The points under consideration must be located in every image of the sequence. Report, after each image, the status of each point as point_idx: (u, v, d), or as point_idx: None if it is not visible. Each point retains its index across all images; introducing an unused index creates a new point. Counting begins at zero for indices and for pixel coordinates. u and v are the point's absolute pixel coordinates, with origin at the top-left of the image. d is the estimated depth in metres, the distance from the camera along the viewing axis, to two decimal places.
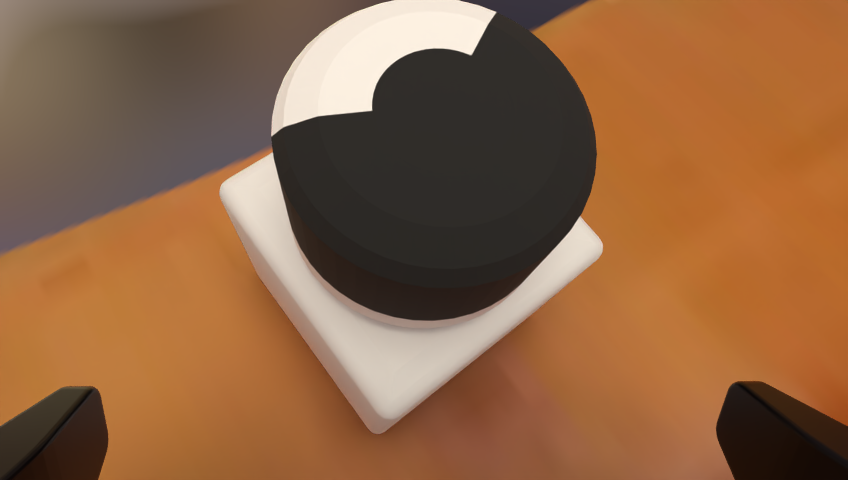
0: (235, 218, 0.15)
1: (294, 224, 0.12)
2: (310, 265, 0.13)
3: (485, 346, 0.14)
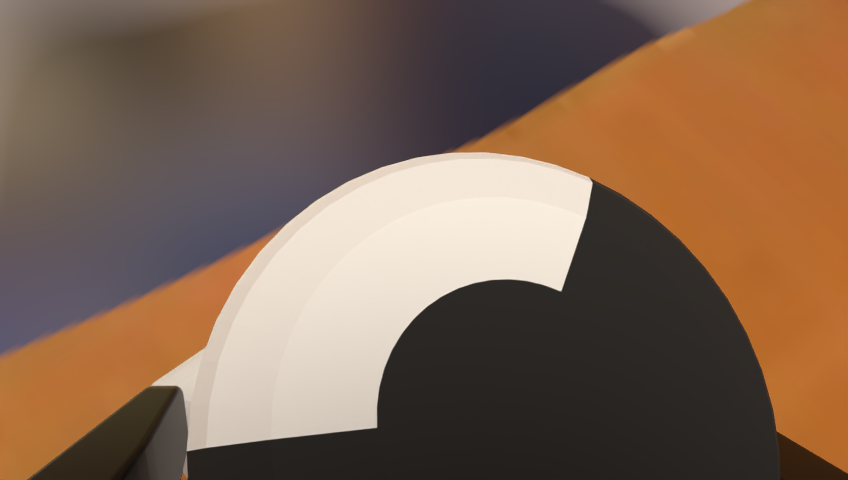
0: None
1: None
2: None
3: None
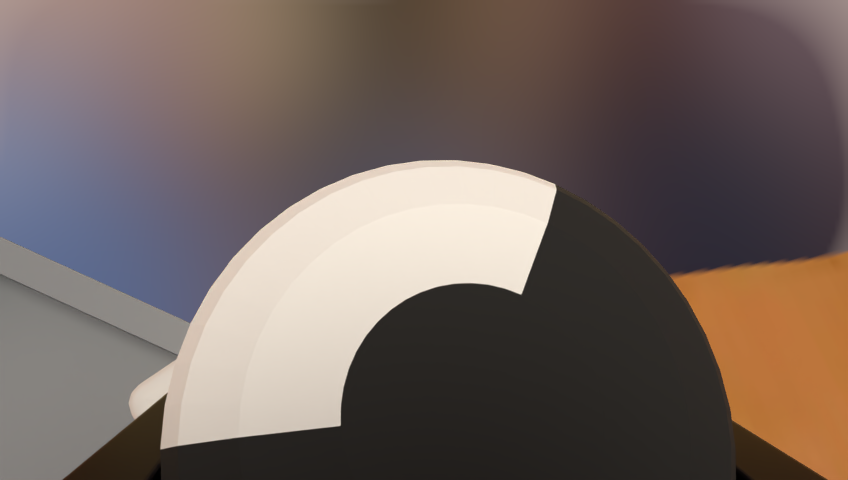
0: None
1: None
2: None
3: None
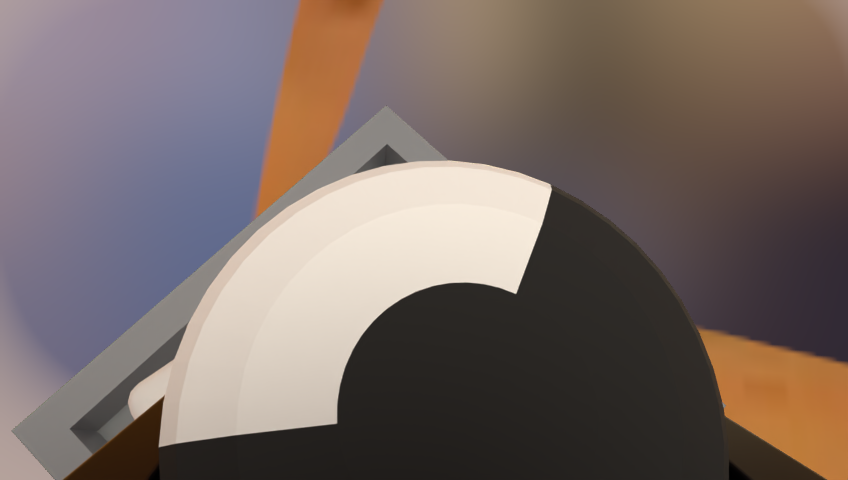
0: None
1: None
2: None
3: None
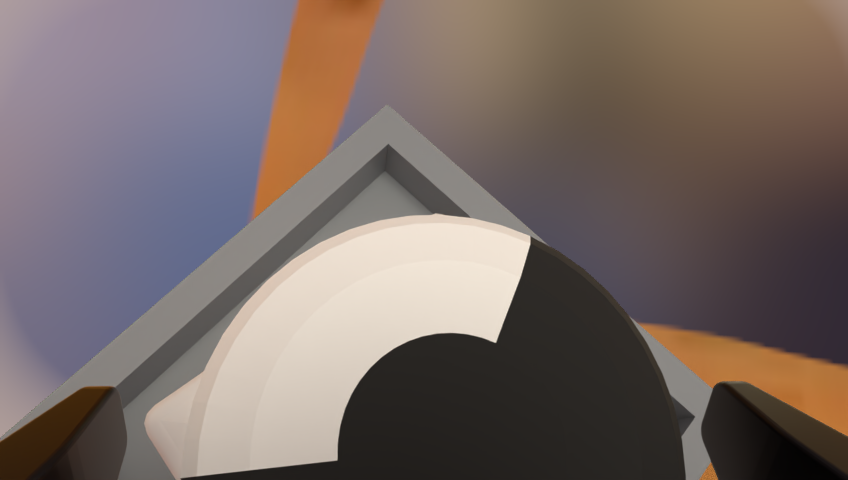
0: (165, 462, 0.11)
1: None
2: None
3: None
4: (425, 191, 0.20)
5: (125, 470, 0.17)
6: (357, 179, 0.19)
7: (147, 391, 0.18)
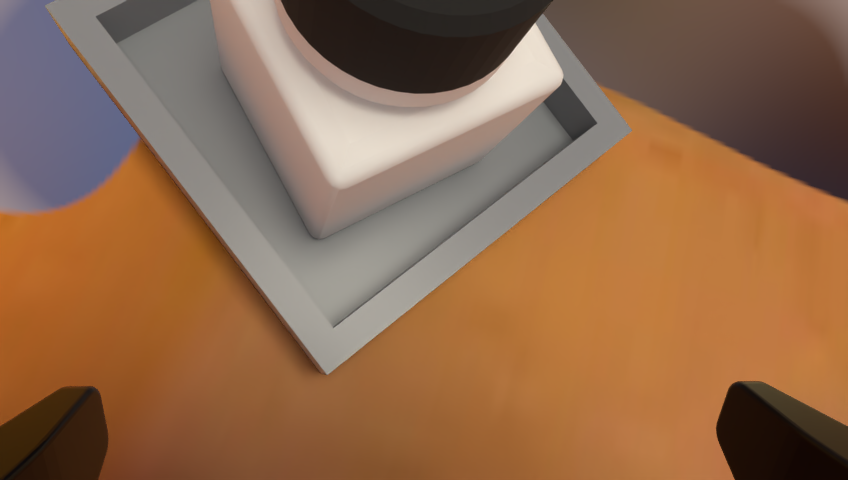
0: None
1: None
2: (286, 16, 0.13)
3: (437, 142, 0.15)
4: None
5: (141, 74, 0.21)
6: None
7: (165, 20, 0.21)
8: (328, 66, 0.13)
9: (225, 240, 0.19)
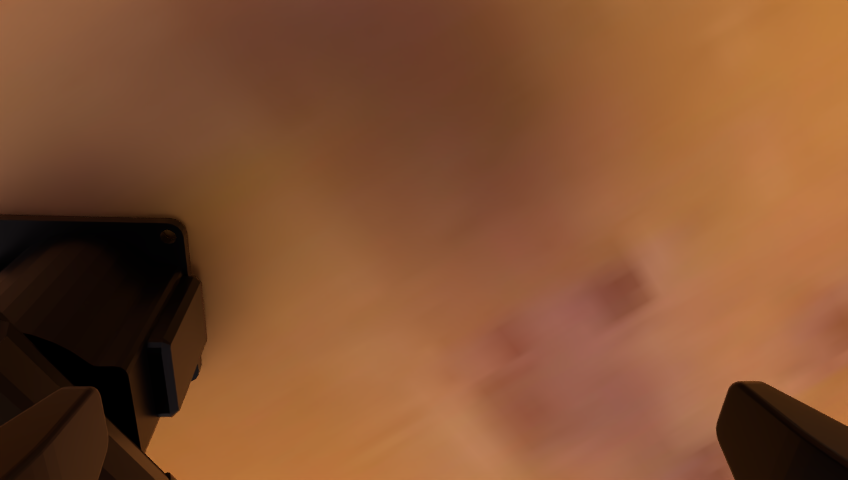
0: None
1: None
2: None
3: None
4: None
5: None
6: None
7: None
8: None
9: None
